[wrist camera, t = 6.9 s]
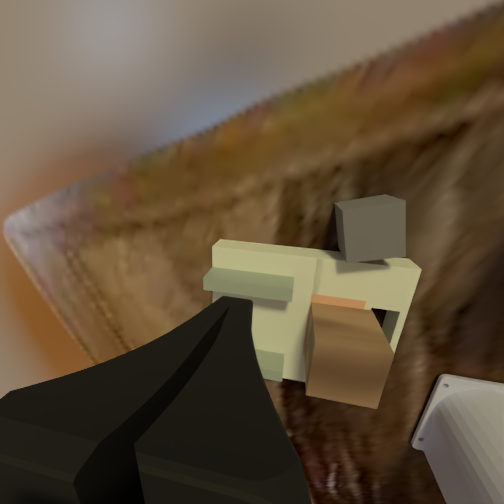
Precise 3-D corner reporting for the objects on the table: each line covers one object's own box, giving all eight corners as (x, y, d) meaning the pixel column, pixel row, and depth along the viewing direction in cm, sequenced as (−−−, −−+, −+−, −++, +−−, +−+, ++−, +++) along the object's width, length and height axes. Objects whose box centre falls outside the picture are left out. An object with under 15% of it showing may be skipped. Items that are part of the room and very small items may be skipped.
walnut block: (360, 357, 20) (376, 408, 15) (304, 347, 20) (306, 395, 16) (372, 310, 18) (394, 354, 14) (311, 302, 19) (315, 341, 14)
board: (373, 377, 22) (388, 419, 19) (219, 349, 25) (205, 382, 21) (409, 258, 18) (437, 282, 14) (220, 239, 20) (202, 255, 17)
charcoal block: (386, 240, 18) (405, 256, 15) (338, 246, 19) (346, 263, 16) (385, 194, 17) (405, 200, 14) (334, 202, 18) (342, 210, 15)
